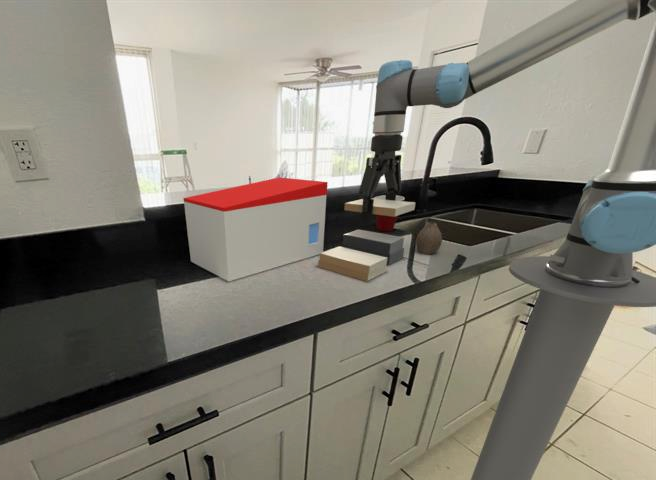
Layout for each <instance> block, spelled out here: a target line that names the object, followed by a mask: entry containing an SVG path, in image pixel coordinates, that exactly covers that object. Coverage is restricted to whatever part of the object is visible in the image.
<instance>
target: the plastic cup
mask: <svg viewBox="0 0 656 480" xmlns="http://www.w3.org/2000/svg"><path fill="white" fill-rule="evenodd" d="M372 198H373V199H383V200H385V198H386V194H385V195H384V194H383V195H378V196H375V197H372ZM405 199H406V198H405V197H404V196H402V195H397V194H396V199H395V201H405ZM398 216H399V215H398ZM398 216H395V217H386V216H383V215H377V214H375V222H376V230H377V231H380V232H392V231H393V230H394V228H395V225H396V222H397V220H398Z"/></svg>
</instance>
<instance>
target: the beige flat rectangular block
mask: <svg viewBox="0 0 656 480" xmlns="http://www.w3.org/2000/svg"><path fill="white" fill-rule="evenodd" d="M373 198H374V197H372V199H373ZM362 206H363V199H360V198H359V199H357V200H353V201H348V202H345V203H344V207H343V208H344V209H343V210H344V211H348V212H355V213H362ZM415 208H416V202H415V201H405V200H403V201H394V200H383V199H374V203H373V212H372V215H376V214H377V215H385V216H392V217H395V216H400V215H403V214H406V213H409V212H412V211H415Z"/></svg>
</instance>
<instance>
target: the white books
mask: <svg viewBox="0 0 656 480" xmlns="http://www.w3.org/2000/svg"><path fill="white" fill-rule="evenodd" d="M317 262H318V263H317V267H318V268H321V269H324V270H328V271H330V272H334V273H338V274H341V275H344V276H348V277H351V278H354V279H357V280H361V281H364V282H368V281H370V280H372V279H375V278H376V277H378V276H381V275H382V274H384V273H385V272H386V269H387V266H388V265H387V257H382V256H378V255H374V254H370V253H365V252H361V251H357V250H353V249H348V248H344V247H343V246H340V245H339V246H336V247H334V248H330V249H327V250H325V251H323V252H322V253H320V254H319V258H318V261H317Z"/></svg>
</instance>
